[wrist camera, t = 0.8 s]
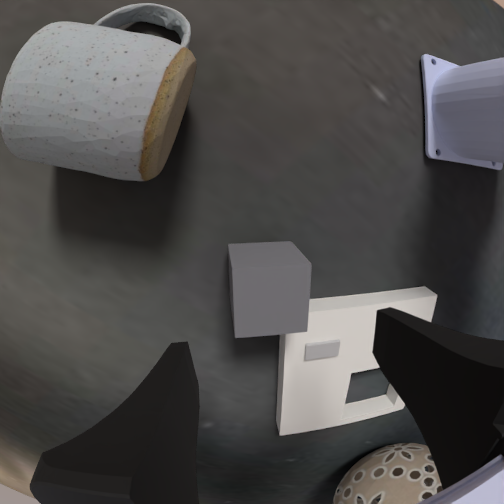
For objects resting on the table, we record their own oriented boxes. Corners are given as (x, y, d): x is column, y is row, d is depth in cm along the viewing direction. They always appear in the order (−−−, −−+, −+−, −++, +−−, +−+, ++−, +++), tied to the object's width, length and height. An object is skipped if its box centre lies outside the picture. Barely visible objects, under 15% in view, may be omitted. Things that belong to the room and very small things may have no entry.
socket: (424, 286, 22) (439, 296, 20) (395, 397, 26) (404, 410, 24) (280, 301, 21) (287, 316, 19) (276, 421, 25) (280, 438, 23)
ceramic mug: (168, 184, 18) (140, 198, 11) (52, 157, 16) (-22, 160, 9) (221, 26, 15) (230, -42, 8) (104, 9, 14) (63, -49, 6)
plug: (288, 237, 20) (311, 264, 15) (286, 293, 21) (307, 331, 16) (227, 240, 19) (232, 268, 15) (229, 296, 20) (235, 338, 16)
